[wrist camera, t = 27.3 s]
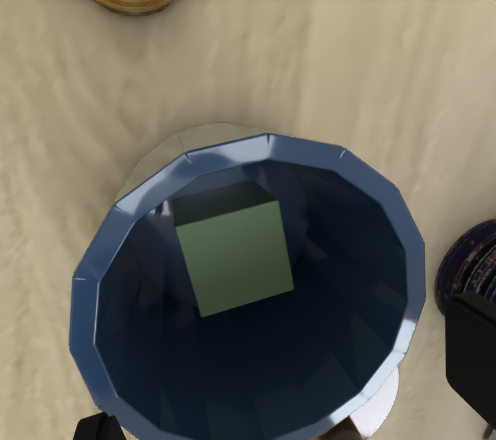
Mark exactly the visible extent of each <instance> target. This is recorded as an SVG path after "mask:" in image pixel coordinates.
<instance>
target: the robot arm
mask: <svg viewBox="0 0 496 440" xmlns="http://www.w3.org/2000/svg"><path fill="white" fill-rule="evenodd" d="M445 339H446V378H447V381H448V383H449V384H450V386H451V387H452V388H453V389H454V390H455V391H456V392H457V393H458V394H459V395H460V396H461V397H462V398H463V399H464V400H465V401H466V402H467V403H468V404H469V405H470V406H471V407H472V408H473V409H474V410H475V411H476V412H477V413H478V414H479V415H480V416H481V417H482V418H483V419H484V420H485V421H486V422H487V423H488V424H490V425H491V426H492V427H493V428H494V429H495V430H496V304H495V303H493V302H491V301H490V300H488V299H486V298H485V297H483V296H481V295H479V294H478V293H476V292H474V291H466V292H463V293H460V294H457V295H454V296H452V297H450V298H449V300H448V304H446V306H445ZM73 440H126V438H125V436H124V433H123V431H122V429H121V427H120V425H119V422H118V420H117V418H116V416H114V415H112V416H108V414H107V413H106V412H102V413H99V414H96V415H92V416H89V417H86V418H83V419H81V420H80V421H79V422H78V425H77V428H76V431H75V434H74V438H73Z"/></svg>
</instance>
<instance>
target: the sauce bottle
mask: <svg viewBox="0 0 496 440" xmlns="http://www.w3.org/2000/svg"><path fill="white" fill-rule="evenodd" d="M95 1H96V2H98V3H100V4H101V5H103V6H105V7H106V8H107V9H108V10H110V11H112V12H115V13H120V14H126V15H149V14H151V13H153V12H158V11H162V10H163V9H164V8H165V7H167V6H168V5H169V4H170V3H171V2H172V1H173V0H95Z"/></svg>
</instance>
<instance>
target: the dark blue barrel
mask: <svg viewBox="0 0 496 440" xmlns="http://www.w3.org/2000/svg"><path fill="white" fill-rule="evenodd" d="M466 291H474V292H476V293H478V294H479V295H481V296H483V297H485V298H486V299H488V300H490V301H491V302H493V303H495V304H496V219H493V220H489V221H486V222H484V223H481V224H479V225H477V226H476V227H474V228H472V229H471V230H469V231H468V232H467V233H465V234H464V235H463V236H462V237H461V238H460V239H459V240H458V241H457V242H456V243H455V244H454V245H453V246H452V248H451V249H450V250H449V252H448V253H447V255H446V256H445V258H444V260H443V262H442V264H441V266H440V268H439V271H438V275H437V278H436V284H435V297H436V302H437V305H438V308H439V310H440V311H441V313H442V314H443V315H444V316H445V306H446V304H448V300H449V298H450V297H452V296H454V295H457V294H460V293H463V292H466Z"/></svg>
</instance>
